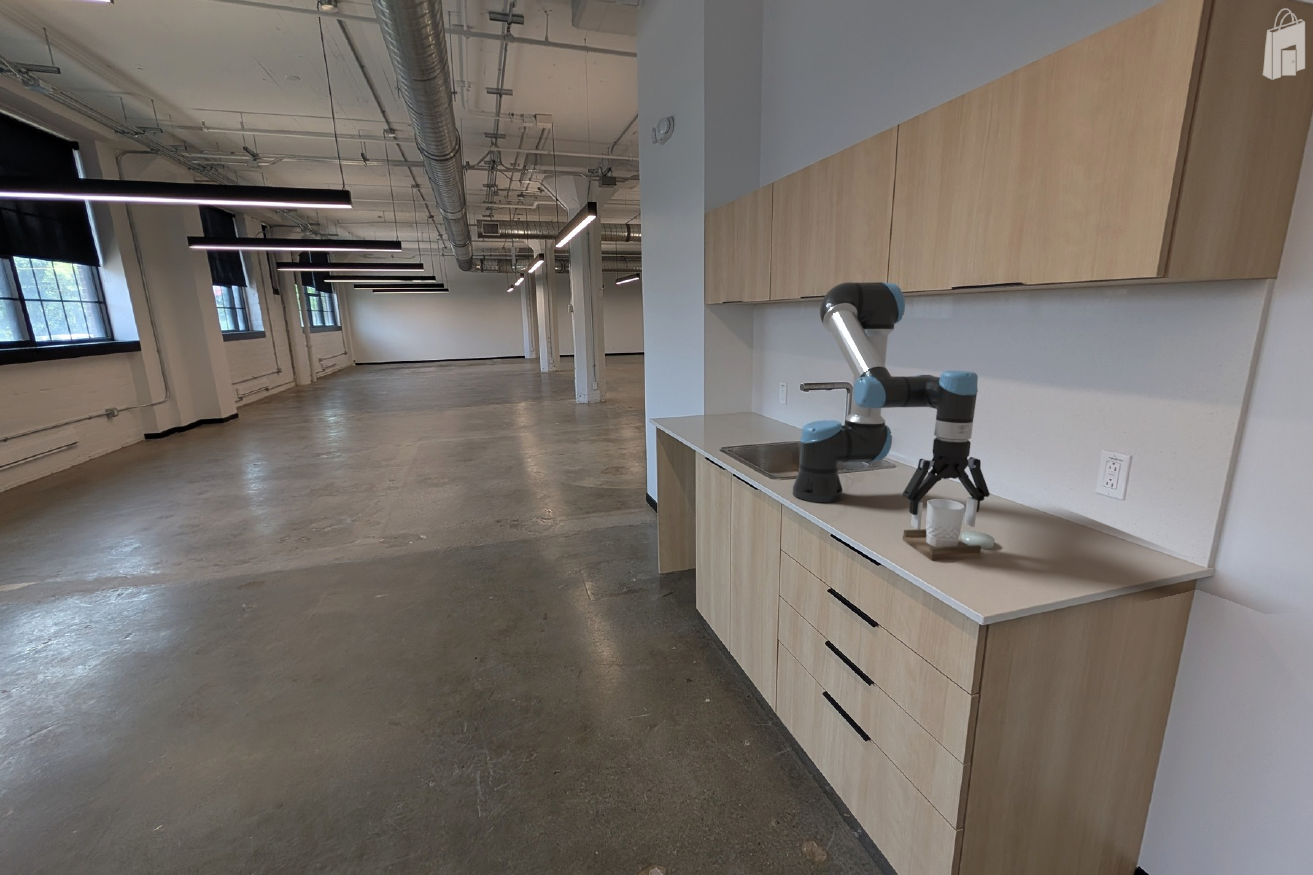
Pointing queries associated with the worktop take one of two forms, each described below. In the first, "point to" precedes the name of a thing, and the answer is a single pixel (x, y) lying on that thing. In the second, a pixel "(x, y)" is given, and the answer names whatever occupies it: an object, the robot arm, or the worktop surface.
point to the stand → (940, 553)
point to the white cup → (943, 522)
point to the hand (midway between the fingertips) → (942, 526)
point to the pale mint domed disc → (978, 539)
